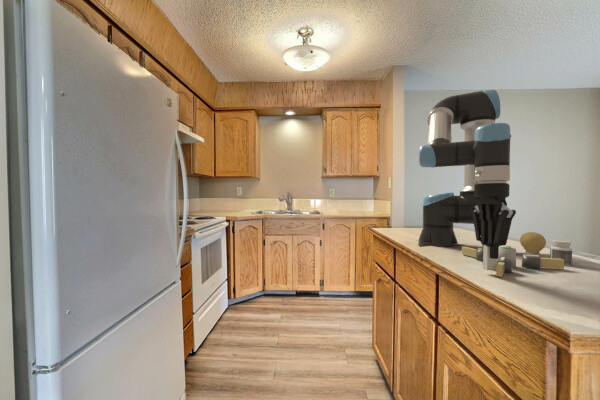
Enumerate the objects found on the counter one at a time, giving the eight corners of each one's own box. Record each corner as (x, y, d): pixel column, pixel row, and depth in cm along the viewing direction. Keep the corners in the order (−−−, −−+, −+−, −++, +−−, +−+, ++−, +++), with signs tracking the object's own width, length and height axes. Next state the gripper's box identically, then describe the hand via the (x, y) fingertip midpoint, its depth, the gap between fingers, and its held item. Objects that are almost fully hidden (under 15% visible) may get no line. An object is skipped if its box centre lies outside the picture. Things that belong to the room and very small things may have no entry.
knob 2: (494, 267, 72) (494, 255, 72) (512, 270, 70) (512, 258, 69) (489, 275, 66) (489, 262, 66) (509, 279, 63) (509, 265, 63)
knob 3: (527, 268, 71) (527, 256, 71) (518, 265, 75) (518, 253, 75) (567, 271, 69) (568, 258, 69) (557, 267, 73) (557, 255, 72)
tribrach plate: (459, 260, 85) (460, 239, 85) (521, 264, 81) (522, 241, 80) (484, 278, 68) (484, 251, 68) (565, 283, 63) (566, 255, 63)
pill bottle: (576, 270, 74) (577, 242, 73) (557, 269, 75) (558, 242, 74) (563, 266, 78) (563, 239, 78) (545, 265, 79) (546, 239, 79)
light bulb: (518, 258, 88) (518, 230, 87) (543, 261, 84) (543, 231, 84) (520, 262, 83) (521, 232, 82) (547, 265, 79) (548, 234, 79)
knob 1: (494, 261, 79) (494, 250, 79) (485, 262, 78) (485, 251, 78) (467, 254, 88) (467, 244, 88) (458, 255, 87) (458, 245, 87)
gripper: (461, 183, 73) (460, 262, 74) (496, 181, 60) (495, 277, 61) (486, 183, 73) (485, 262, 74) (527, 181, 60) (525, 277, 61)
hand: (489, 269), depth 67 cm, fingers closed
